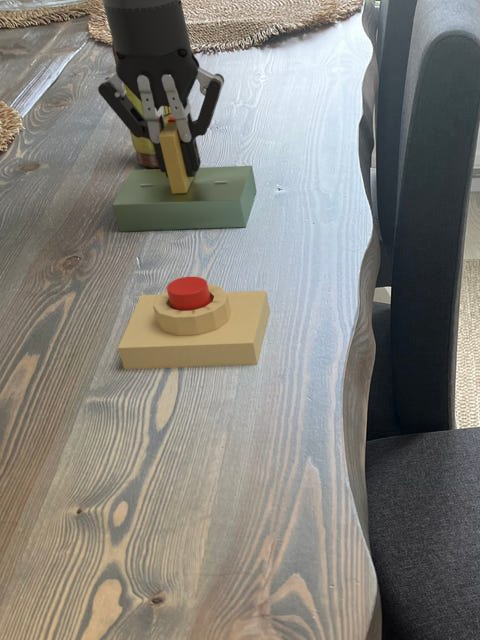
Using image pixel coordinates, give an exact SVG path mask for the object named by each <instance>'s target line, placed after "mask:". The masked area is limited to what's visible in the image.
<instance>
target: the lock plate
mask: <svg viewBox="0 0 480 640" xmlns="http://www.w3.org/2000/svg"><path fill="white" fill-rule="evenodd" d="M256 195H257V186H256V180H255V174H254V168H253V166H252V165H233V166H230V165H229V166H207V167H199V169H198V171H197V173H196V175H195V177H194V178H193V181H192V183H191V185H190V187H189V189H188V191H187V193H177V194H172V191H171V186H170V182H169V178H167V176H166V173H165V172H161V170H160V169H159V168H150V169H149V168H148V169H131V170H130V172H129V174H128V176H127V177H126V179H125V181H124V183H123V184H122V186H121V187H120V190H119V192H118V193H117V195H116V196H115V199H114V201H113V203H112V206H111V207H112V209H113V213H114V216H115V220H116V224H117V227H118V231H119V232H121V233H122V232H147V231H176V230H178V231H179V230H205V229H232V228H246V226H247V224H248V221H249V218H250V214H251V211H252V207H253V204H254V201H255V198H256Z"/></svg>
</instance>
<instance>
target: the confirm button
mask: <svg viewBox="0 0 480 640" xmlns="http://www.w3.org/2000/svg"><path fill="white" fill-rule="evenodd" d="M208 284H209V283H208V281H207V280H206V279H204V278H203V277H200V276H184V277H179V278H176V279H174V280H172V281H171V282H169V283H168V284H167V286H166V291H167V292H168V296H169V300H170V304H171V307H172V309H175V310H179V311H191V310H196V309H200V308H203V307H205V306H207V305H208V304H210V303H211V297H210V293H209V288H208Z"/></svg>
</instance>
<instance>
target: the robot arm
mask: <svg viewBox="0 0 480 640" xmlns="http://www.w3.org/2000/svg"><path fill="white" fill-rule="evenodd" d="M102 3H103V8H104V12H105V15H106V19H107V23H108V27H109V30H110V35H111V39H112V42H113V43H114V47H115V51H116V54H117V64H116V63H115V72H114V73H113V74H112V75H111V76H110V77H109V76H108V77H105V78H104V79H103V81H102V82H101V83H100V84H99V86H98V88H97V91H98V93H99V95H100V96H101V98H103V100H104V101H105V102H106V104H107V105H108V106H109V107H110V109H111V110H113V112H114V113H115V114H116V116H117V117H118V118H119V119H120V120H121V122H122V123H123V124H124V125H125V127H126V128H127V129H128V130H129V132H130V131H131V132H132V134H133V135H134V136H135V137H138V138H140V137H144V138H147V139H149V140H150V141H151V142H152V143H153V145H154V149H155V154H156V158H157V162H158V166H159V168H158V169H160V170H161V172H165V173H166V176H167V178H168V174H167V169H166V165H165V161H164V157H163V153H162V148H161V144H160V140H159V135H160V134H161V132H162V130H163V129H164V127H165V122H164V116H163V106H167V107H170V108H171V112H172V115H173V118H174V120H175V121H176V124H177V128H178V132H179V135H180V138H181V142H180V147H181V152H182V156H183V161H184V165H185V169H186V174H187V177H195V175H196V173H197V171H198V169H199V168H201V163H202V160H201V157H200V152H199V147H198V143H197V142H198V141H197V137H199V136H201V137H203V136H205V135H206V134H207V132H208V129H209V128H210V126H211V123H212V120H213V117H214V114H215V111H216V108H217V105H218V102H219V99H220V96H221V93H222V90H223V88H224V85H225V78H224V76H223V75H222V74H220V73H215V74H213V73H211V72H209V71H207V70H205V69H204V68H202V67H201V66H200V62H199V60H198V59H197V58H196V56H195V54H194V52H193V51H192V47H191V42H190V37H189V32H188V28H187V23H186V19H185V13H184V9H183V3H182V0H102ZM196 80H197V81H198V83H199V92H200V93H201V94H202V95H203V96H204V98H203V101H202V104H201V108H200V111H199V113H198V116H197V119H193V115H192V108H191V103H190V100H189V96H190V94H191V92H192V90H193V88H194V85H195V83H196ZM123 83H124V84H125V85H126V86H127V87H128V88H129V89H130V90H131V91H132V92H133V93H134V95H135V96H136V97H137V98H138V99H139V100H140V101H141V102H142V105H143V110H144V115H145V118H144V117H143V116H142V114H141V113H140V112H139V111H138V110H137V108H136V107H135V106H134V105H133V103H132V102H131V101H130V100H129V98H128V97H127V96H126V88H125V87H124V84H123ZM146 120H147V121H146Z"/></svg>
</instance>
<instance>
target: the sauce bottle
mask: <svg viewBox="0 0 480 640" xmlns="http://www.w3.org/2000/svg"><path fill="white" fill-rule="evenodd" d="M111 45H112V46H111V49H112V55H113V59H114V62H115V65H116V64H117V54H116V51H115V47H114V43H113V41H112V43H111ZM123 84H124V83H123ZM124 87H125V88H126V96H127V97H128V98H129V100H130V101H131V102H132V103H133V105H134V106H135V107H136V108H137V110H138V111H139V112H140V113H141V114H142V116H143V117H144V118H145V115H144V110H143V105H142V102H141V101H140V100H139V99H138V98H137V97H136V96H135V95H134V93H133V92H132V91H131V90H130V89H129V88H128V87H127V86H126V85H125V84H124ZM163 116H164V122H165V125H166V124H167V122H168V119H169V117H173V115H172V112H171V108H170V107H167V106H163ZM146 121H147V120H146ZM129 133H130V138H131V143H132V147H133V149H134V151H135V155H136V160H137V162H138V163H139V164H140V166H143V167H148V168H150V169H159V166H158V162H157V158H156V154H155V149H154V145H153V143H152V142H151V141H150V140H149V139H147V138H144V137H140V138H138V137H135V136H134V135H133V134H132V132H131V131H130V130H129Z"/></svg>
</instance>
